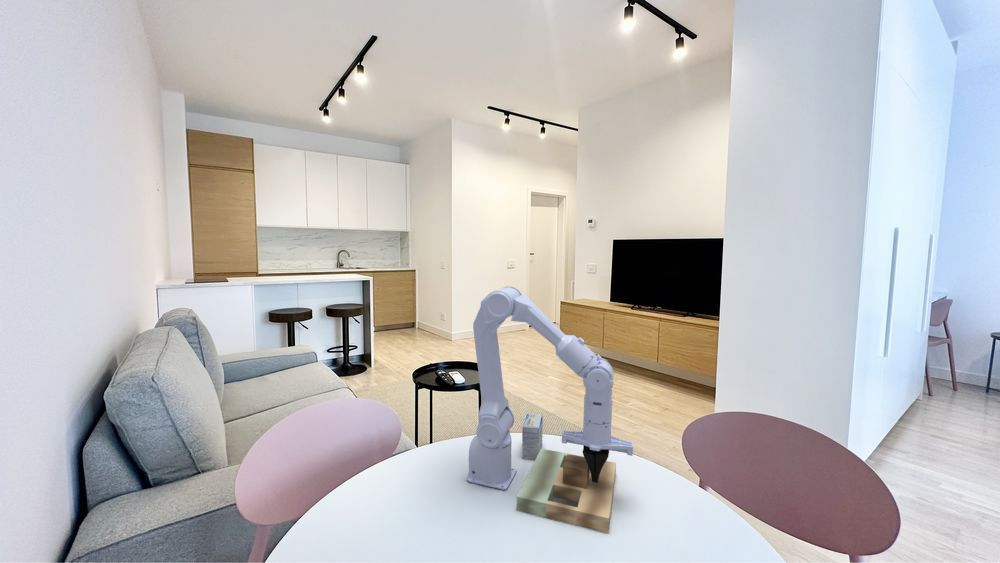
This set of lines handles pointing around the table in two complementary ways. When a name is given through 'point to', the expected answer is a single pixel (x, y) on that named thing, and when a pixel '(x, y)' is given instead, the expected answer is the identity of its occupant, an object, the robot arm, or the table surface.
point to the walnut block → (576, 471)
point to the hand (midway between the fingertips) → (595, 479)
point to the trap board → (567, 494)
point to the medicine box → (532, 436)
